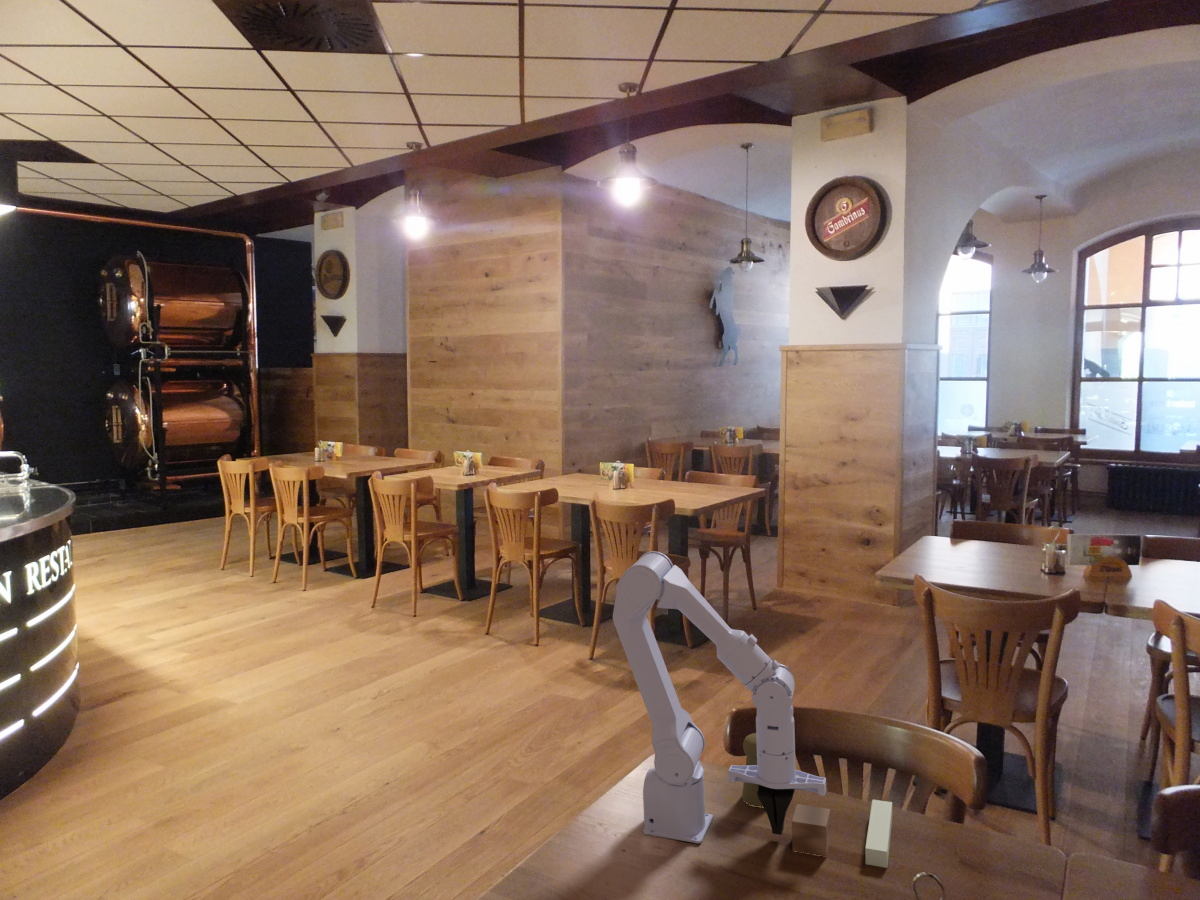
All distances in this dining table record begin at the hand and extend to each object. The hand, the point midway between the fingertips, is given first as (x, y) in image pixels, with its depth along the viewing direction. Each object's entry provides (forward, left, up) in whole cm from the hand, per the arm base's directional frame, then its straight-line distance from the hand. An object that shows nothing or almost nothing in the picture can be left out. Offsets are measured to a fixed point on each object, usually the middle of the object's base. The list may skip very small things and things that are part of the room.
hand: (778, 830), depth 130 cm
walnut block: (+5, 0, -2) cm, 5 cm away
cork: (-5, +11, -2) cm, 12 cm away
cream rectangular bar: (+15, +4, -1) cm, 15 cm away
